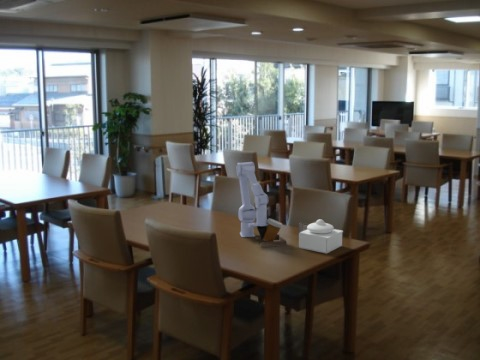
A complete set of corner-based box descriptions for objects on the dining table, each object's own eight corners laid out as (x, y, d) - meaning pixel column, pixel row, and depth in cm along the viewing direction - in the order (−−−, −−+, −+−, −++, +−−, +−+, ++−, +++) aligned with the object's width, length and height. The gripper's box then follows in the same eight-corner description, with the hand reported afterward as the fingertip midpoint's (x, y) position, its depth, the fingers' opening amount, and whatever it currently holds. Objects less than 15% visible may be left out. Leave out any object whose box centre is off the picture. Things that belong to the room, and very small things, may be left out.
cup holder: (255, 239, 320) (255, 235, 319) (279, 238, 322) (279, 234, 322) (261, 247, 305) (261, 242, 305) (286, 245, 308) (286, 241, 307)
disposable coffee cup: (262, 240, 307) (270, 221, 306) (257, 235, 316) (265, 216, 315) (277, 245, 310) (285, 226, 309) (272, 240, 319) (279, 221, 318)
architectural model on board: (316, 238, 322) (316, 222, 320) (312, 239, 320) (312, 223, 318) (301, 234, 331) (302, 219, 329) (298, 235, 329) (298, 220, 327)
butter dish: (314, 240, 317) (315, 213, 314) (342, 245, 306) (343, 218, 303) (298, 247, 303) (298, 219, 300) (327, 253, 292) (327, 224, 289)
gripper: (250, 218, 305) (250, 241, 307) (275, 216, 307) (275, 240, 310) (247, 215, 312) (248, 238, 314) (272, 213, 314) (272, 236, 317)
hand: (261, 238), depth 312 cm, fingers closed
